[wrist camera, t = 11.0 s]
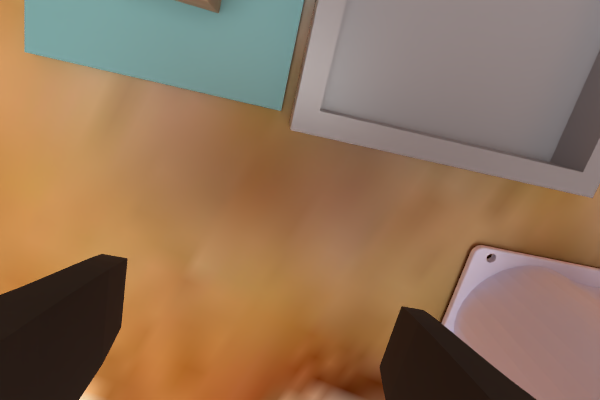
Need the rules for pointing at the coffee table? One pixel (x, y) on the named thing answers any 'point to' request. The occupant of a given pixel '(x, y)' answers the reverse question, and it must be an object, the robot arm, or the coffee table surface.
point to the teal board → (174, 42)
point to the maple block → (204, 4)
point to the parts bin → (460, 84)
